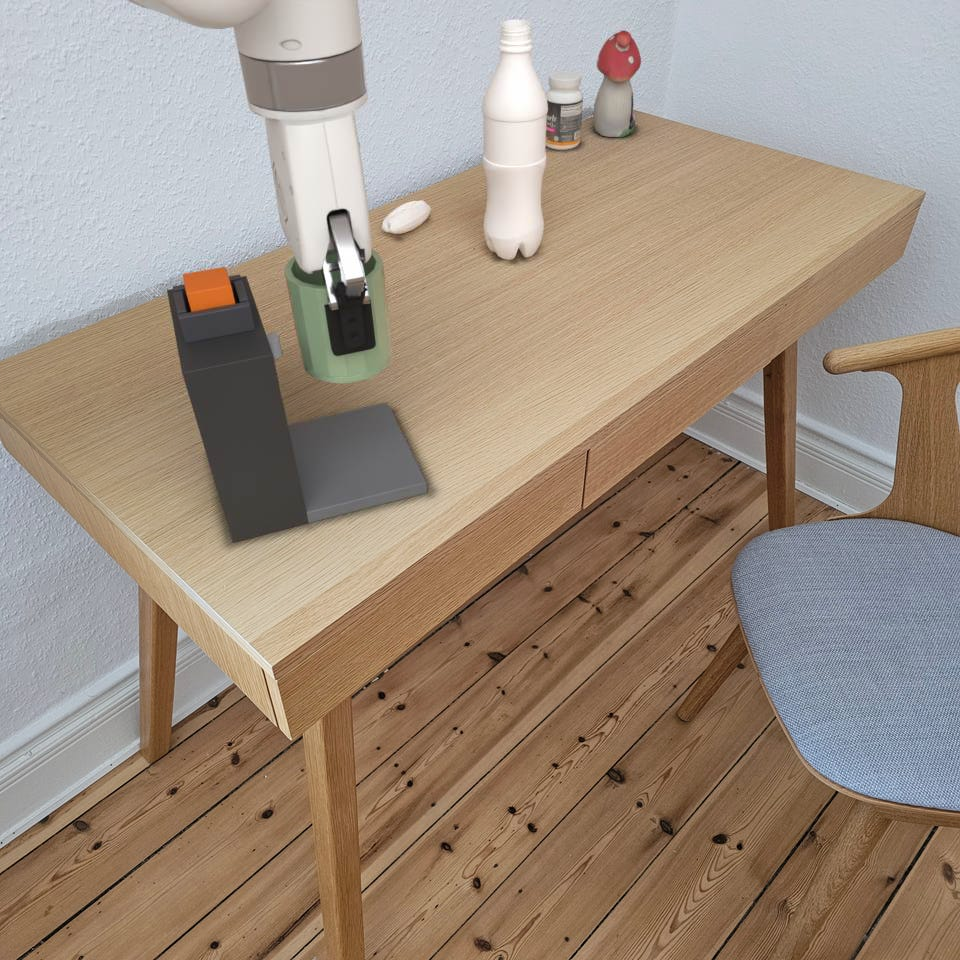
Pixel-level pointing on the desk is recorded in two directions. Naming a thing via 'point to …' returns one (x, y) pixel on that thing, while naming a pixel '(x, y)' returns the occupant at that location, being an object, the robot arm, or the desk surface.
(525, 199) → the water bottle
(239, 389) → the coffee maker
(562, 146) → the pill bottle
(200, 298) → the button
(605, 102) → the decorative ornament
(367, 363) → the cup
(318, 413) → the desk surface
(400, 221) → the white oval pebble
